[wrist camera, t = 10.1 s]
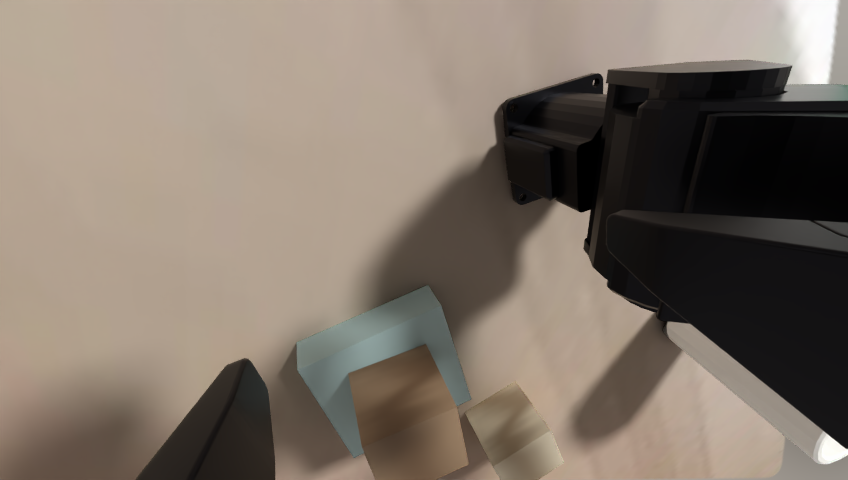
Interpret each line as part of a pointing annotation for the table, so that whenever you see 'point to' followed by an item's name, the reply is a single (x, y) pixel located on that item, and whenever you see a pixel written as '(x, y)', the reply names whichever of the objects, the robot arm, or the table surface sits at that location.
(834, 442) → the cup
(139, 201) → the table surface
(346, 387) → the base block
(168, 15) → the table surface
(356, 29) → the table surface
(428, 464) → the walnut cube
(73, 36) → the table surface
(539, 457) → the beech cube
